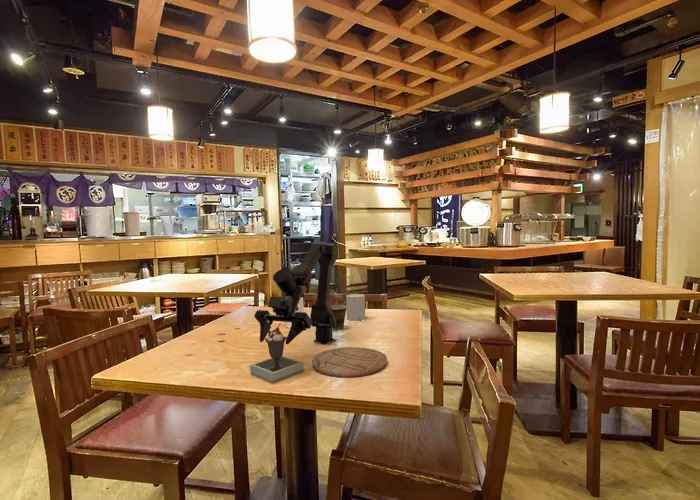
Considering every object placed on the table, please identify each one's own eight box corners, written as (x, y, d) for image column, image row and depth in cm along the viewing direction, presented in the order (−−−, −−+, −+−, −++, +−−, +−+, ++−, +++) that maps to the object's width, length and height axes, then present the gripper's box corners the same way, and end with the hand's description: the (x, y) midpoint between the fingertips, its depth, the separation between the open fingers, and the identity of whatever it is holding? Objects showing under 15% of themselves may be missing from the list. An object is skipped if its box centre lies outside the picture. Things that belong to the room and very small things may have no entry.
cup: (302, 328, 168) (301, 294, 168) (285, 328, 168) (283, 294, 168) (305, 324, 177) (304, 291, 176) (288, 324, 177) (287, 292, 176)
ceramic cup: (334, 324, 173) (333, 304, 173) (351, 327, 167) (350, 306, 167) (316, 331, 163) (315, 309, 162) (334, 334, 157) (333, 311, 157)
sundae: (287, 373, 111) (285, 324, 110) (265, 375, 110) (262, 326, 110) (288, 365, 117) (286, 319, 117) (267, 367, 117) (265, 321, 116)
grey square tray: (280, 363, 122) (280, 355, 122) (303, 371, 114) (303, 362, 114) (250, 374, 113) (250, 364, 113) (273, 383, 105) (272, 373, 105)
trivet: (366, 384, 104) (365, 378, 104) (296, 371, 116) (296, 365, 116) (398, 358, 125) (398, 352, 125) (337, 348, 138) (337, 343, 138)
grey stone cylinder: (345, 321, 179) (344, 297, 178) (348, 317, 188) (347, 294, 188) (364, 322, 177) (363, 297, 177) (366, 317, 187) (366, 294, 186)
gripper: (256, 285, 119) (235, 327, 110) (306, 287, 113) (290, 331, 103) (270, 304, 127) (252, 345, 117) (318, 307, 121) (303, 350, 111)
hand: (273, 342), depth 112 cm, fingers open, 9 cm apart
